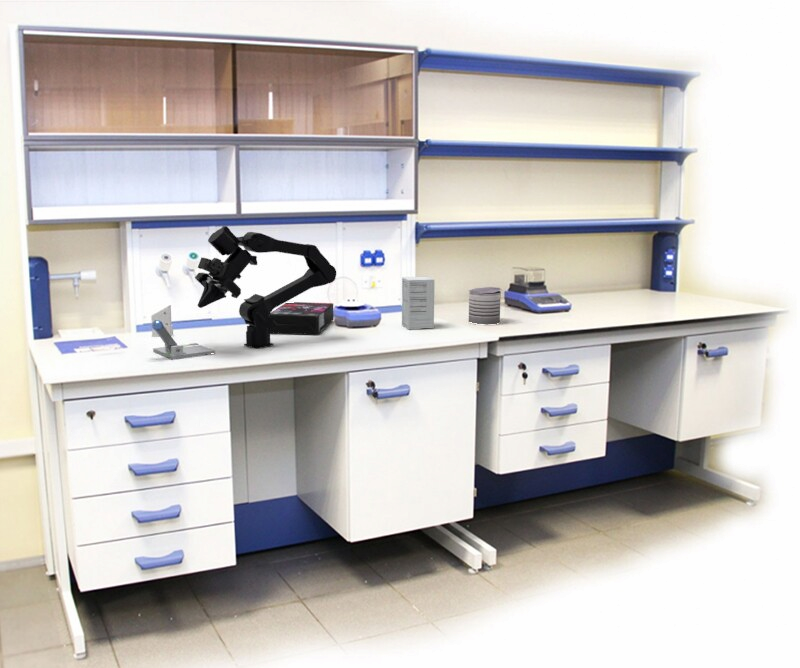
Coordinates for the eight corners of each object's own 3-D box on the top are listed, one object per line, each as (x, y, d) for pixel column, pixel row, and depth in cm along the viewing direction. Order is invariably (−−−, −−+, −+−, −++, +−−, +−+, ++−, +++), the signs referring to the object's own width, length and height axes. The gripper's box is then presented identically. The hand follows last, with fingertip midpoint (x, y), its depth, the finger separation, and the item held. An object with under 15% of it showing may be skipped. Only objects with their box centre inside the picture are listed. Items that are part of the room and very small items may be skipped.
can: (503, 325, 294) (505, 290, 292) (471, 325, 293) (472, 291, 291) (496, 319, 306) (497, 286, 303) (465, 319, 304) (465, 286, 302)
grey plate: (184, 329, 268) (169, 305, 266) (157, 344, 268) (142, 321, 267) (186, 327, 271) (172, 303, 270) (160, 342, 272) (145, 319, 270)
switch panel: (195, 346, 254) (194, 334, 253) (214, 353, 244) (214, 341, 243) (153, 351, 246) (152, 339, 245) (172, 359, 236) (171, 347, 235)
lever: (176, 345, 241) (156, 317, 236) (181, 347, 238) (161, 318, 233) (168, 352, 240) (148, 324, 234) (173, 353, 237) (152, 325, 232)
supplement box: (434, 329, 285) (435, 279, 282) (407, 330, 283) (408, 280, 280) (426, 324, 294) (427, 276, 291) (401, 325, 292) (401, 276, 289)
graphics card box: (265, 314, 273) (287, 299, 299) (266, 335, 274) (287, 318, 301) (317, 316, 271) (334, 301, 297) (317, 337, 272) (334, 320, 298)
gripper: (200, 245, 249) (165, 284, 244) (230, 250, 235) (194, 292, 230) (225, 270, 255) (192, 309, 251) (255, 276, 241) (221, 318, 236)
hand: (199, 306), depth 242 cm, fingers closed
